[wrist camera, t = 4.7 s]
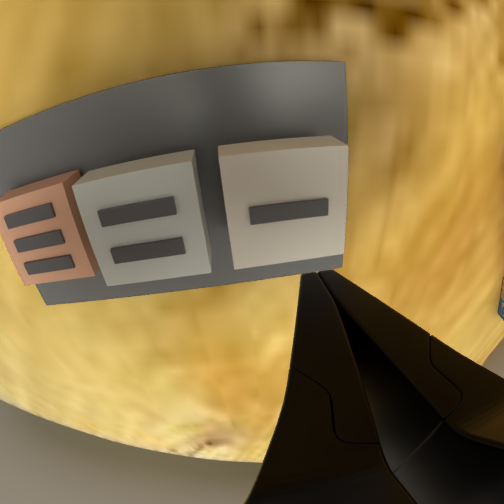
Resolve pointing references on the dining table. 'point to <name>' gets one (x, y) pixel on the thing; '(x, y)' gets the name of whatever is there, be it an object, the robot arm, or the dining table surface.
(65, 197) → the slotted block
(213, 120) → the board
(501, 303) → the stack of blocks
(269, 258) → the tile
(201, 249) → the tile
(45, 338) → the dining table surface
